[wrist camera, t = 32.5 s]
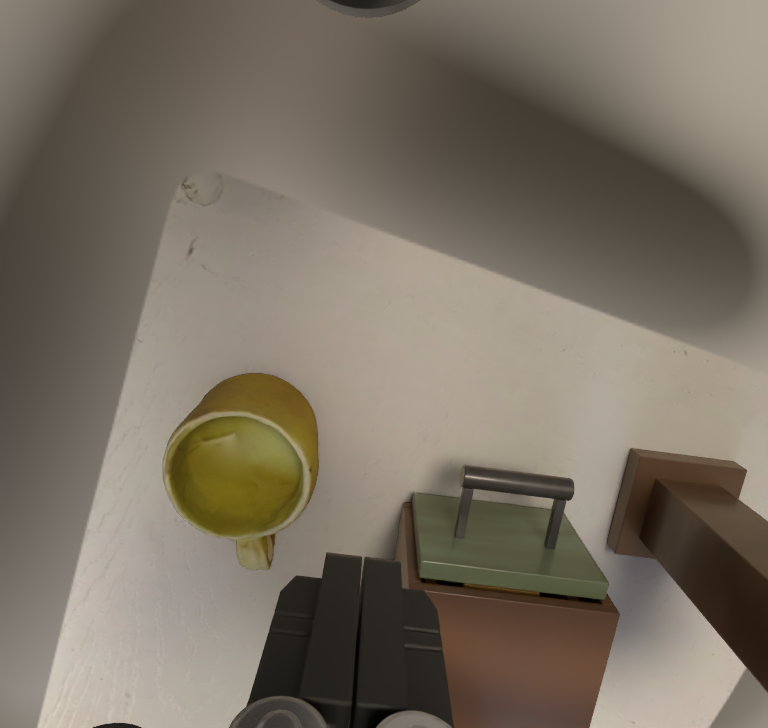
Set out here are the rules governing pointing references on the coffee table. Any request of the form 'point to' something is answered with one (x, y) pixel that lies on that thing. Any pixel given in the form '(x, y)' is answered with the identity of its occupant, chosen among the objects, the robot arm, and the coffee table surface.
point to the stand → (701, 542)
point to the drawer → (505, 538)
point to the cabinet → (515, 650)
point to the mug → (244, 463)
